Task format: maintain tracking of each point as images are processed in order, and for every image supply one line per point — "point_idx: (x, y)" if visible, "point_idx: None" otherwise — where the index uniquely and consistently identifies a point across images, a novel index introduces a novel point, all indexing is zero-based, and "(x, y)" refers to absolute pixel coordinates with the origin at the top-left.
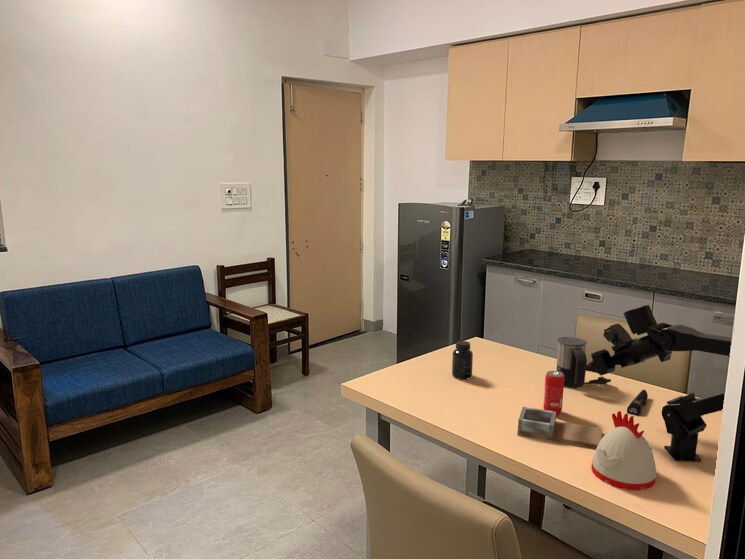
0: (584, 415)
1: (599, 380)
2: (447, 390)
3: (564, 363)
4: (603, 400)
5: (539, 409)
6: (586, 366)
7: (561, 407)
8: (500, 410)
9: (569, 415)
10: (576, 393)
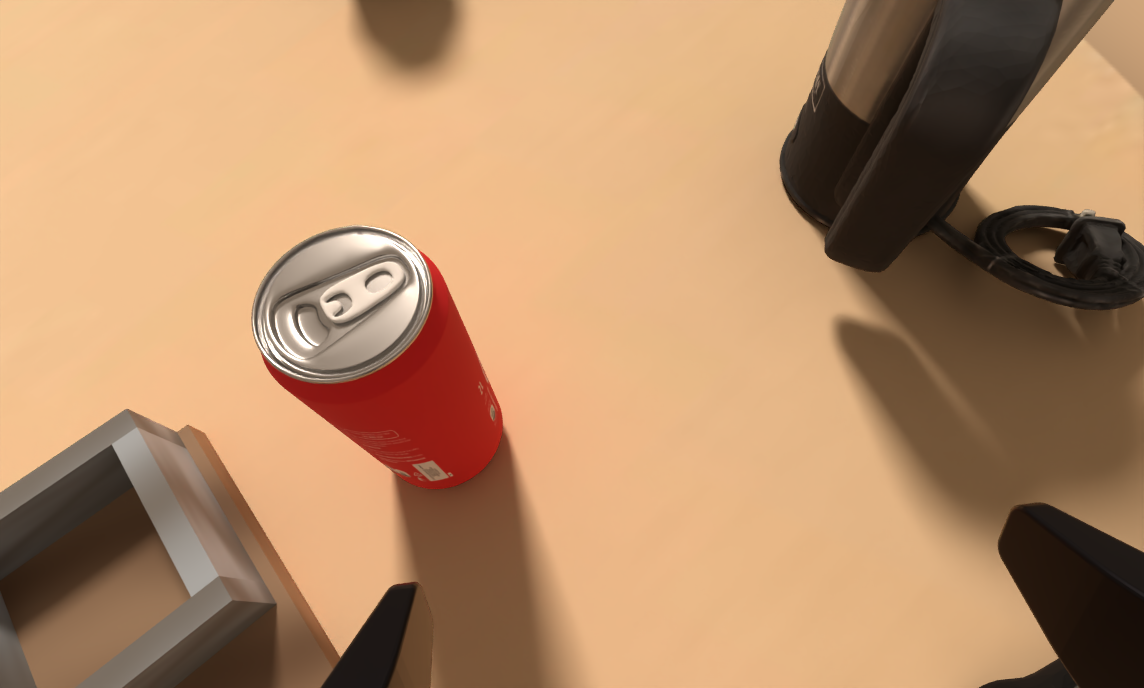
0: (606, 572)
1: (1072, 238)
2: (211, 39)
3: (851, 63)
4: (918, 446)
5: (168, 502)
6: (348, 663)
7: (454, 477)
8: (215, 289)
9: (511, 522)
10: (807, 293)
